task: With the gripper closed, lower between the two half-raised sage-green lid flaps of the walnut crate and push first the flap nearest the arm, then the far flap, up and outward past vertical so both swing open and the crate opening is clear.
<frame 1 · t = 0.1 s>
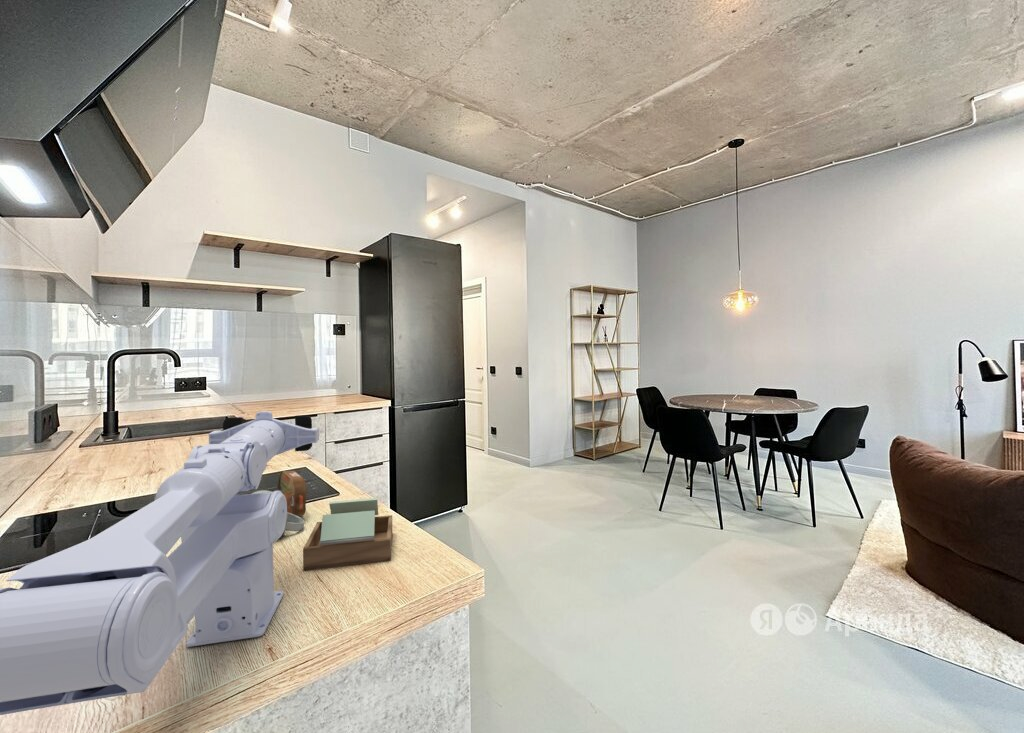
hand: (281, 424, 73), 22 cm above the counter, tool horizontal, fingers open, 7 cm apart
ceramic mug: (271, 535, 80), on the counter
flap near: (348, 527, 69), point 6 cm above the counter, hinge at 55.0°
crate: (352, 550, 73), on the counter
tin: (292, 513, 91), on the counter
flap far: (354, 508, 77), point 6 cm above the counter, hinge at 55.0°
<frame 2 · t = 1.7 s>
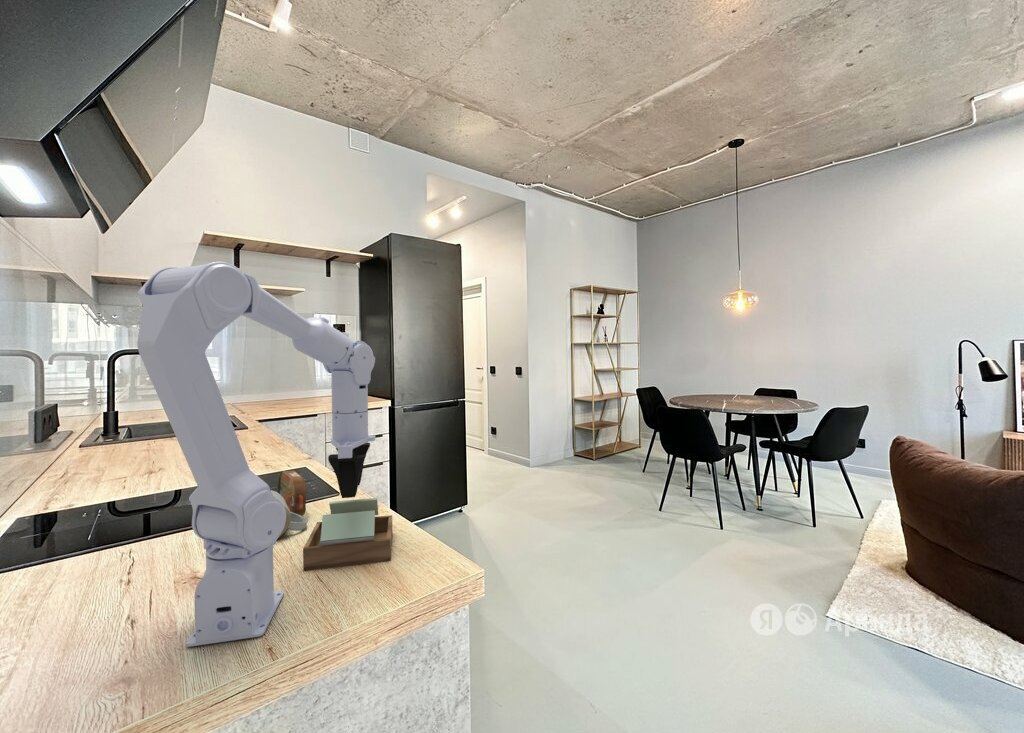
hand: (351, 491, 73), 10 cm above the counter, tool pointing down, fingers open, 6 cm apart
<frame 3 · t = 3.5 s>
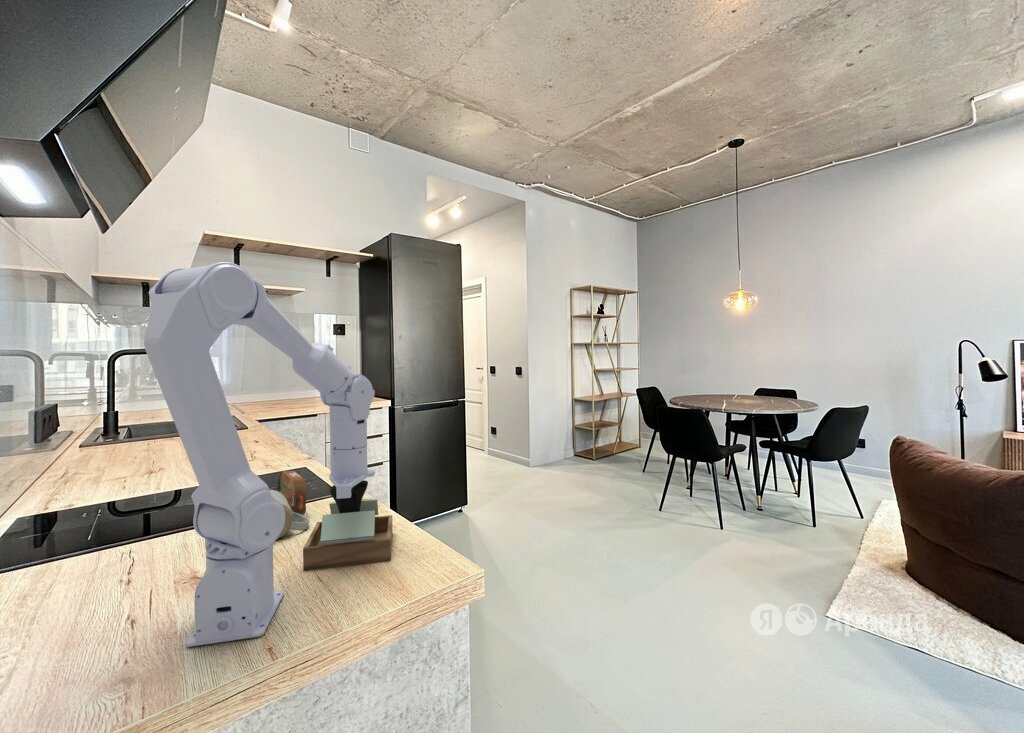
hand: (350, 527, 71), 5 cm above the counter, tool pointing down, fingers closed, pressing on flap near
ceramic mug: (276, 534, 81), on the counter, touching tin
flap near: (348, 527, 69), point 6 cm above the counter, hinge at 55.3°, touching gripper
tin: (292, 513, 91), on the counter, touching ceramic mug
everything else where it was.
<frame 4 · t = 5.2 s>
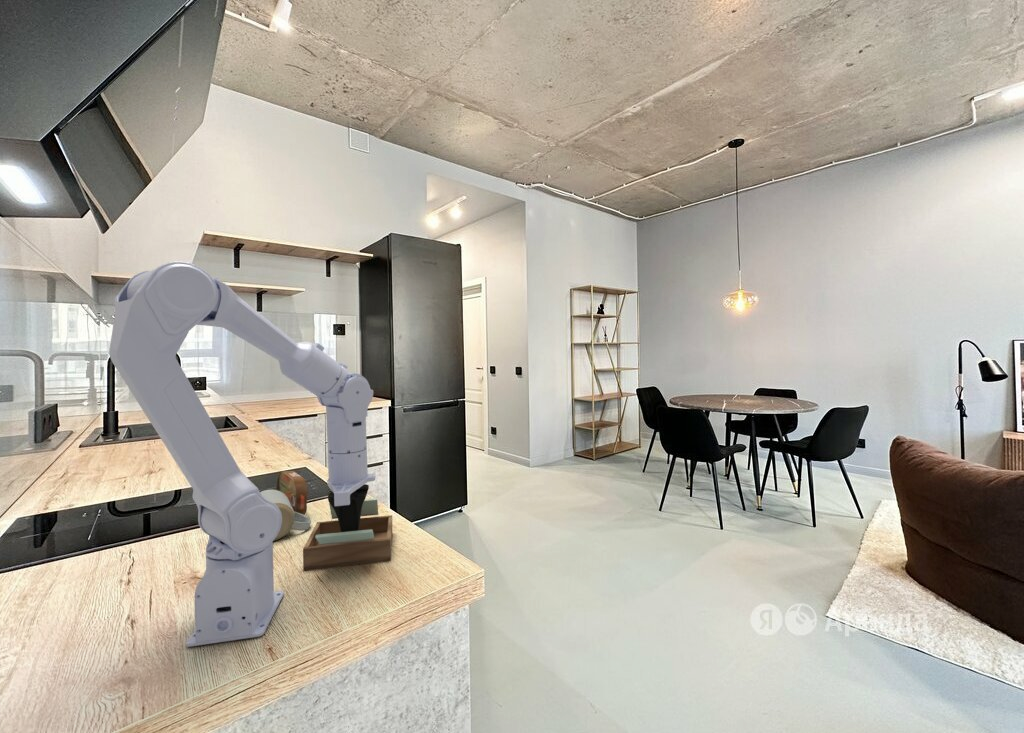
hand: (350, 535, 67), 5 cm above the counter, tool pointing down, fingers closed, pressing on flap near
ceramic mug: (278, 534, 81), on the counter
flap near: (346, 537, 66), point 5 cm above the counter, hinge at 143.5°, touching gripper
tin: (292, 514, 91), on the counter
everything else where it was.
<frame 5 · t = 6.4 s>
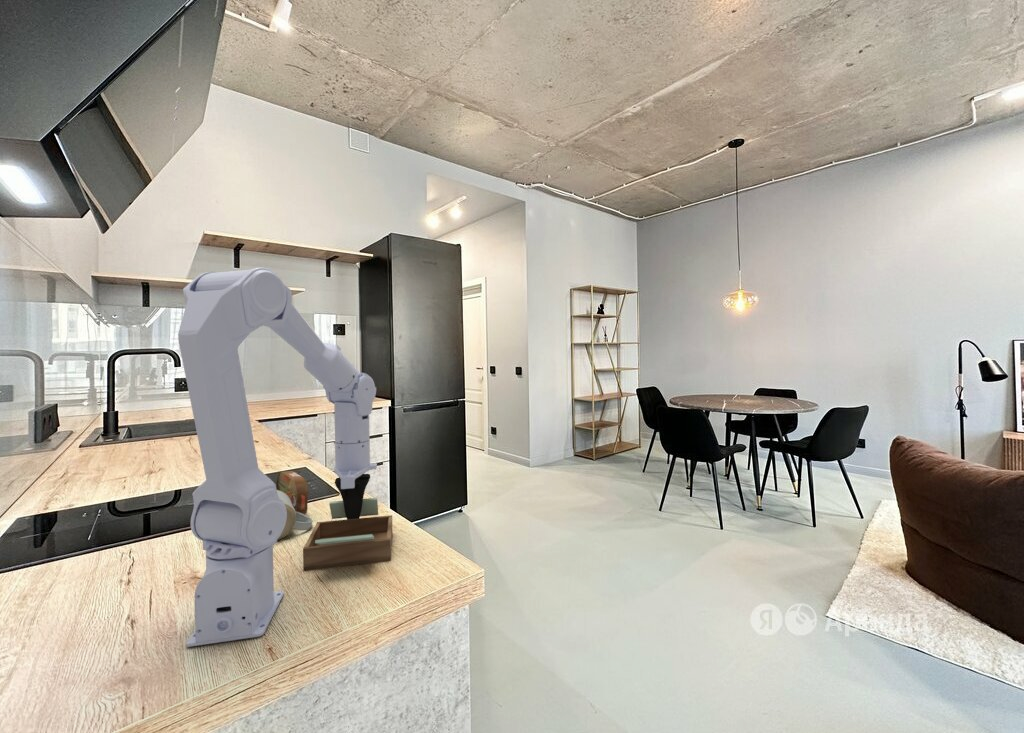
hand: (353, 517, 75), 5 cm above the counter, tool pointing down, fingers closed, pressing on flap far
ceramic mug: (280, 534, 81), on the counter, touching tin
flap near: (346, 539, 66), point 5 cm above the counter, hinge at 153.2°
tin: (292, 514, 91), on the counter, touching ceramic mug
flap far: (354, 508, 77), point 6 cm above the counter, hinge at 55.6°, touching gripper
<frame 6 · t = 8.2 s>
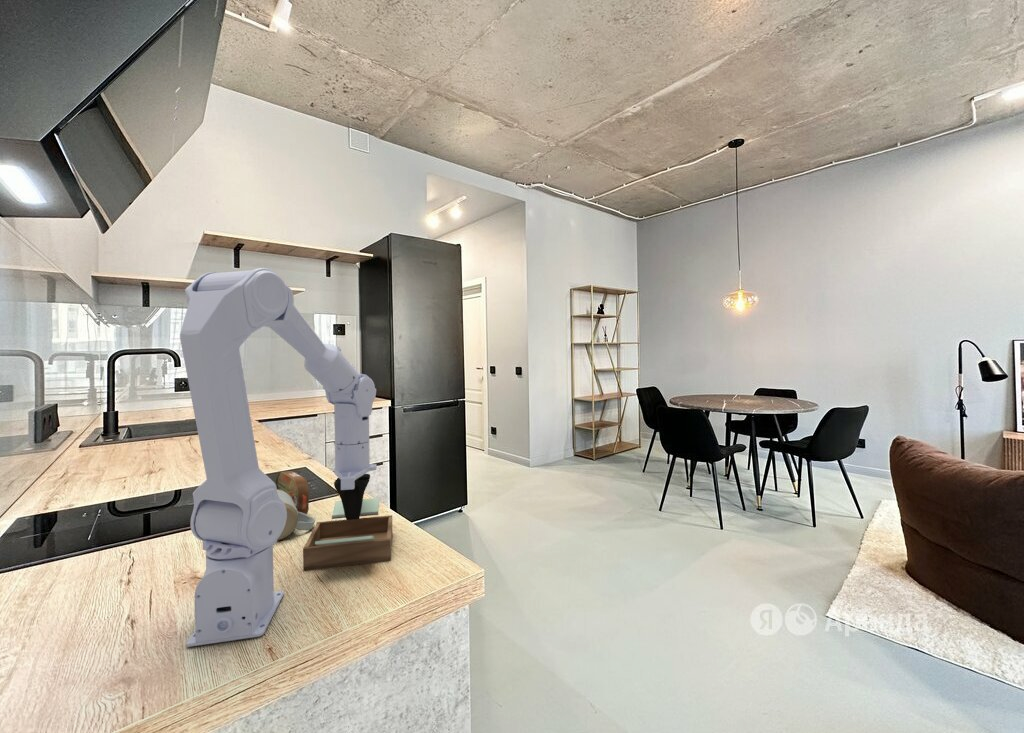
hand: (353, 518, 76), 5 cm above the counter, tool pointing down, fingers closed
flap near: (345, 540, 66), point 5 cm above the counter, hinge at 155.7°
flap far: (356, 508, 80), point 5 cm above the counter, hinge at 161.2°
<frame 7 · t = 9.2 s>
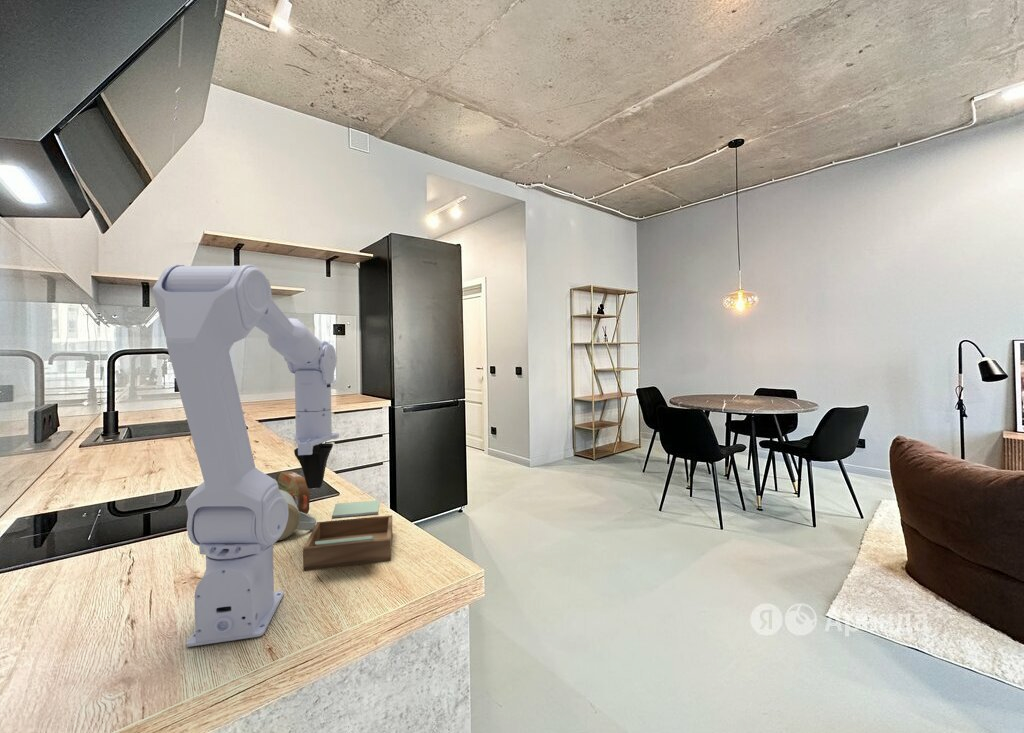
hand: (314, 487, 75), 10 cm above the counter, tool pointing down, fingers closed
ceramic mug: (284, 534, 81), on the counter
tin: (292, 514, 91), on the counter
flap far: (356, 509, 80), point 4 cm above the counter, hinge at 167.9°
everything else where it was.
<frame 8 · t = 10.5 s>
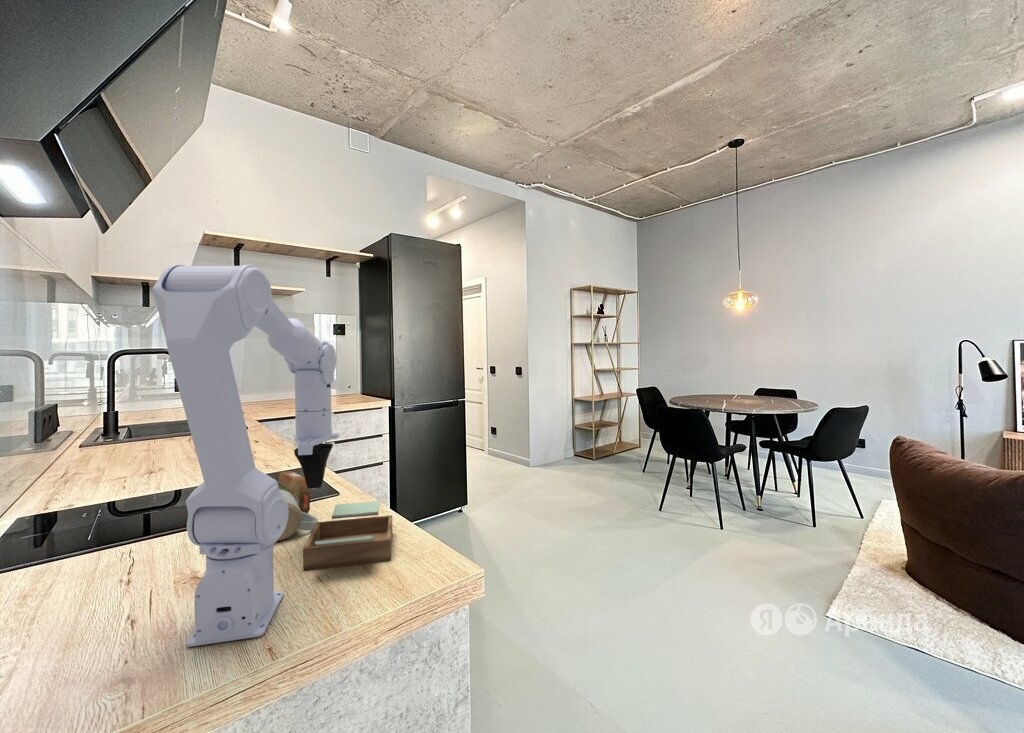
hand: (314, 487, 75), 10 cm above the counter, tool pointing down, fingers closed
ceramic mug: (285, 534, 81), on the counter, touching tin
tin: (292, 514, 91), on the counter, touching ceramic mug
flap far: (356, 509, 80), point 4 cm above the counter, hinge at 170.1°
everything else where it was.
at the end: flap near at +156° (first picture: +55°); flap far at +170° (first picture: +55°) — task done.
